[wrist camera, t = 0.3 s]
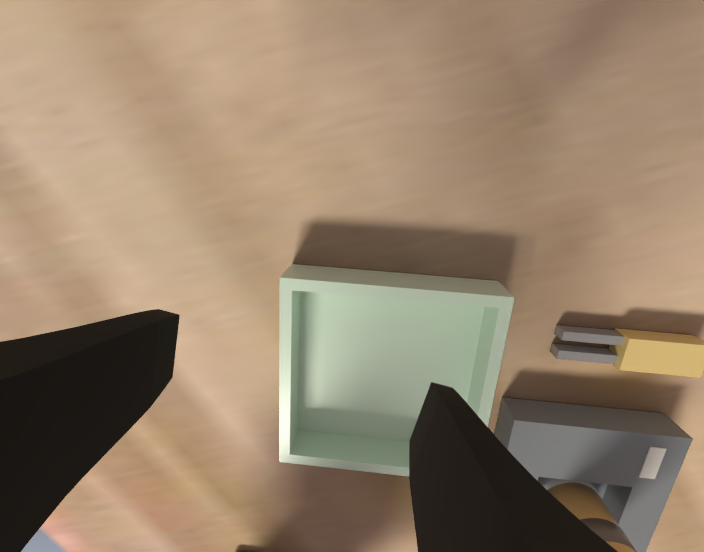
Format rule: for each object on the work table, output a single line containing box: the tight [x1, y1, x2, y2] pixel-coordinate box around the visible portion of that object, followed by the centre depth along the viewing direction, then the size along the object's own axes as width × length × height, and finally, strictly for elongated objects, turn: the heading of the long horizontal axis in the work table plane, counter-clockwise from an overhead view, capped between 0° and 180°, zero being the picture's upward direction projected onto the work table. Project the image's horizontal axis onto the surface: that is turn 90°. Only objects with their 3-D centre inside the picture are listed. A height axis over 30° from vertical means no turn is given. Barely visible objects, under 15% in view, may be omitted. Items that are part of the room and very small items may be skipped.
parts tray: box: [279, 264, 515, 477], centre depth 20 cm, size 11×11×2 cm
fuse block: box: [494, 397, 693, 552], centre depth 22 cm, size 12×9×2 cm
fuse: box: [538, 477, 637, 552], centre depth 19 cm, size 4×4×7 cm
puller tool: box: [550, 325, 704, 378], centre depth 19 cm, size 7×2×1 cm, turn 86°
